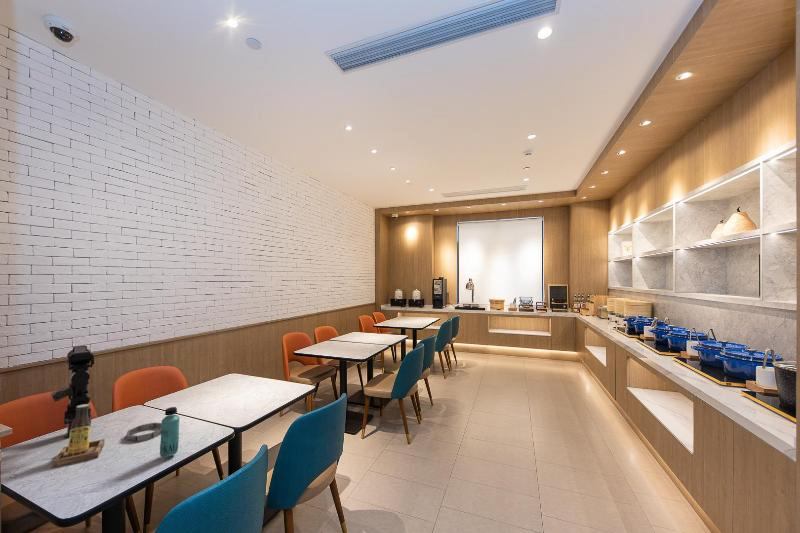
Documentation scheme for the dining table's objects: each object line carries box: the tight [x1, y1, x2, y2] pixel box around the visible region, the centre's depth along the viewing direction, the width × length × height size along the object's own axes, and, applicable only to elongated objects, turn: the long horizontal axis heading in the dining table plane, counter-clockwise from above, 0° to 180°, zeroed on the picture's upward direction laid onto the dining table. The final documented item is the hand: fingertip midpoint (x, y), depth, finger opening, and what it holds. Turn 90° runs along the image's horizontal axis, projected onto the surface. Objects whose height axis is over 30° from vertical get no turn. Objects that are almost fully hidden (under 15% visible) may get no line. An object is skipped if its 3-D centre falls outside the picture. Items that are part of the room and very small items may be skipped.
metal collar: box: [125, 421, 162, 443], centre depth 152 cm, size 14×14×2 cm
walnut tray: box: [52, 438, 105, 469], centre depth 133 cm, size 13×13×2 cm
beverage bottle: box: [159, 406, 181, 458], centre depth 133 cm, size 6×7×20 cm
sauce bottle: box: [67, 403, 92, 457], centre depth 133 cm, size 6×6×20 cm
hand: (77, 414), depth 143 cm, fingers open, 9 cm apart
